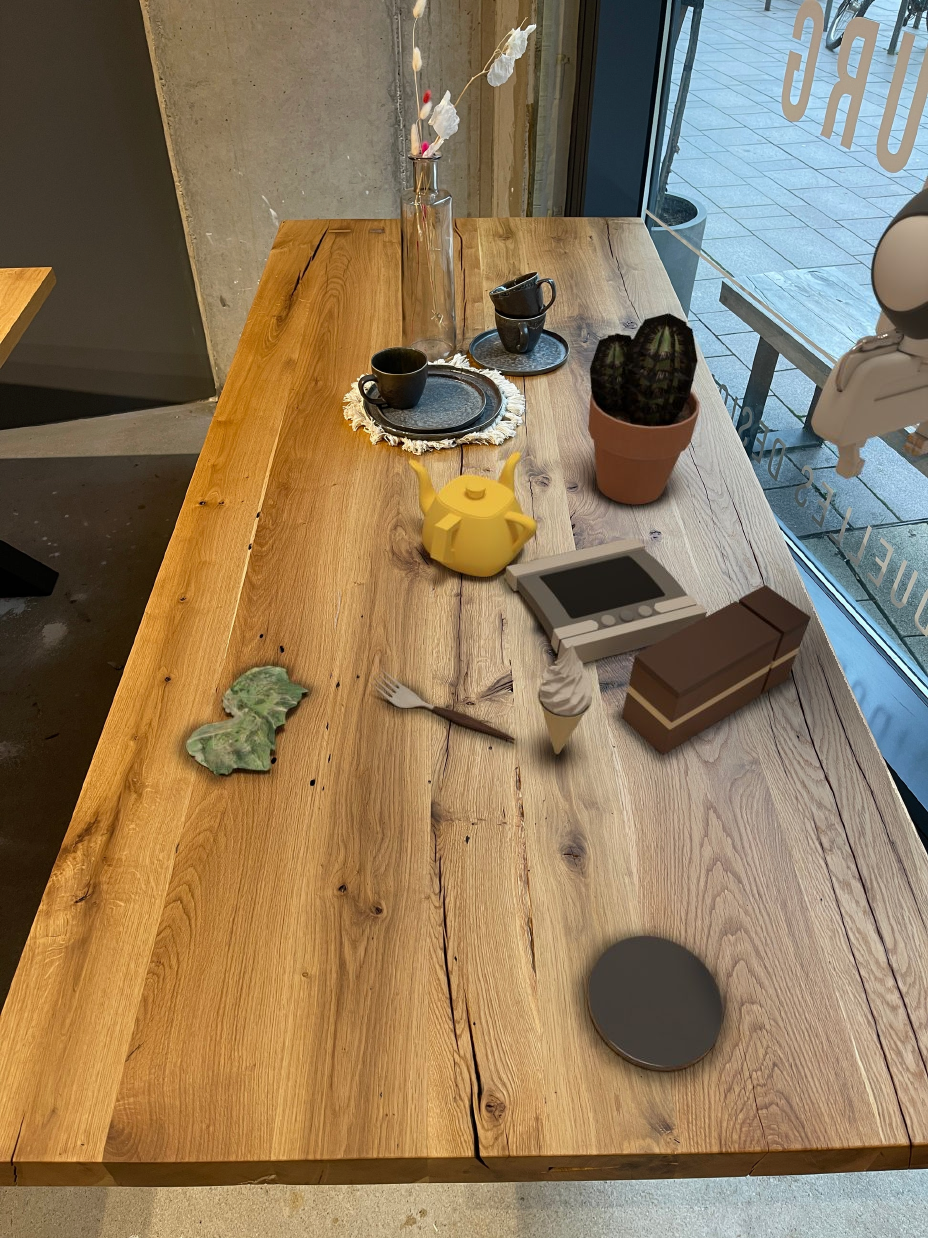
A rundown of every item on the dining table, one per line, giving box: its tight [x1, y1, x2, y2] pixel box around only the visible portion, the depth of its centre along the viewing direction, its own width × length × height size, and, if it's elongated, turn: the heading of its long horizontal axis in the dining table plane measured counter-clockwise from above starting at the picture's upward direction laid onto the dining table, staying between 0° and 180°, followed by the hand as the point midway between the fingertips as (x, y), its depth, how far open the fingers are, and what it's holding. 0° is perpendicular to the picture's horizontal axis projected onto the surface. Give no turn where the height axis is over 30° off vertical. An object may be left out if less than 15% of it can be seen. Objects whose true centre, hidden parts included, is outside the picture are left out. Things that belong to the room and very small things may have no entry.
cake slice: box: [737, 584, 812, 695], centre depth 96 cm, size 4×6×9 cm, turn 35°
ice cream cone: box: [537, 645, 593, 755], centre depth 85 cm, size 5×5×15 cm
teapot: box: [408, 451, 538, 578], centre depth 109 cm, size 14×13×10 cm
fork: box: [369, 668, 516, 742], centre depth 92 cm, size 3×16×2 cm, turn 63°
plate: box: [587, 935, 724, 1072], centre depth 71 cm, size 10×10×1 cm
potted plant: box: [587, 312, 701, 505], centre depth 115 cm, size 14×14×25 cm
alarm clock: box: [505, 536, 708, 664], centre depth 105 cm, size 17×5×16 cm
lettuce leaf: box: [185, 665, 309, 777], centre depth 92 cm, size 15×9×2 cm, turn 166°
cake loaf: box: [621, 600, 781, 755], centre depth 91 cm, size 14×6×9 cm, turn 125°
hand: (881, 463), depth 87 cm, fingers open, 8 cm apart
